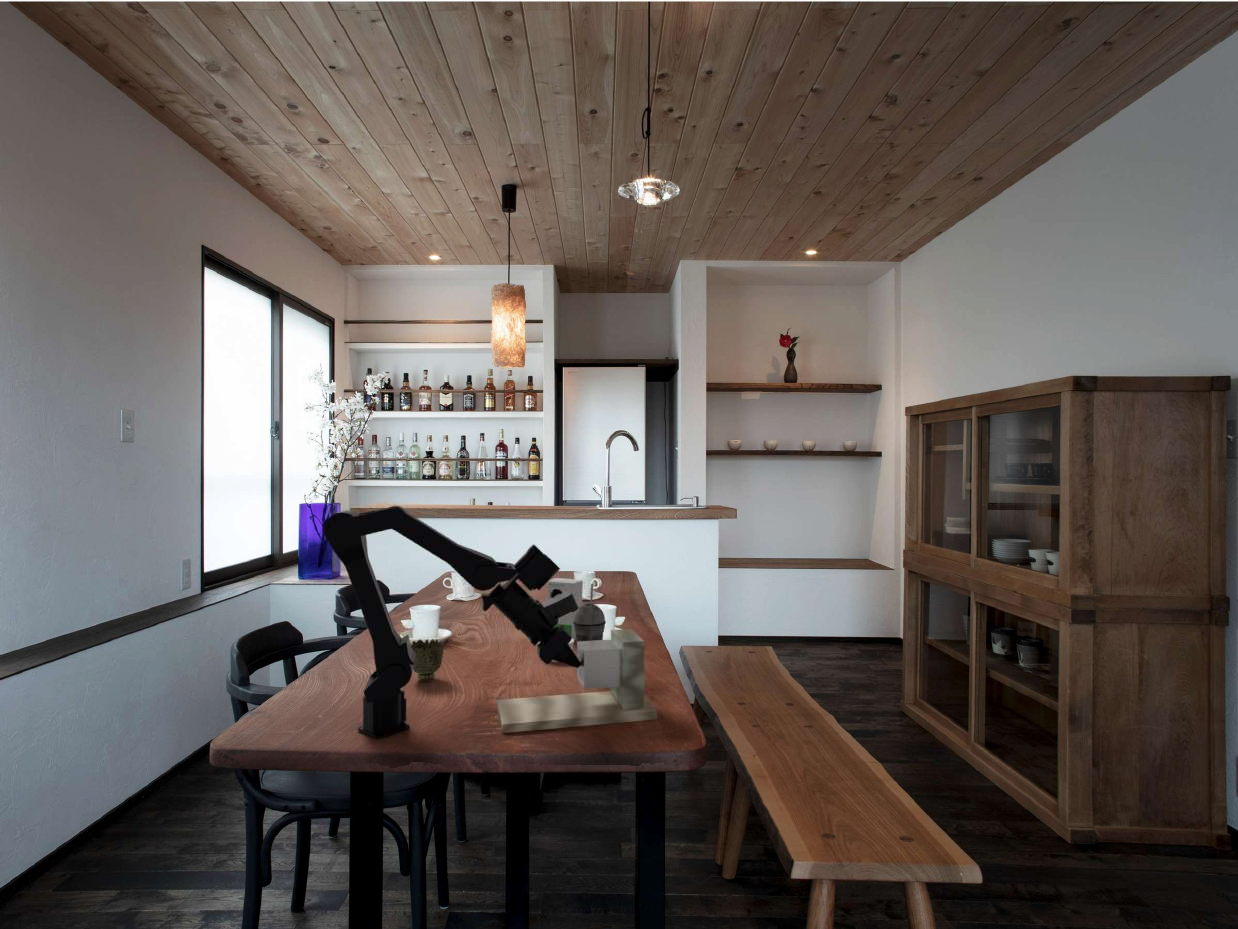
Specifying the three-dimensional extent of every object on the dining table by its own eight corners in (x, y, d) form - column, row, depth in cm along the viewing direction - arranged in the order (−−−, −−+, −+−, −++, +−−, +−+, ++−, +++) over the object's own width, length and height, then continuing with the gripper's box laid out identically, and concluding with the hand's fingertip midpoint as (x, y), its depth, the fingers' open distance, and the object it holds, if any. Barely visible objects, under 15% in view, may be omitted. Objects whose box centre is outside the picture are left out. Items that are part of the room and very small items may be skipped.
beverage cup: (566, 676, 152) (566, 585, 152) (583, 667, 158) (583, 580, 159) (595, 681, 149) (595, 588, 149) (611, 672, 155) (611, 583, 155)
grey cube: (584, 689, 126) (584, 651, 126) (577, 678, 133) (577, 641, 133) (621, 686, 128) (621, 648, 128) (612, 675, 134) (612, 639, 134)
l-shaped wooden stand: (502, 733, 119) (502, 652, 120) (497, 707, 132) (497, 634, 132) (657, 719, 126) (657, 642, 126) (638, 696, 139) (638, 626, 139)
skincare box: (545, 639, 185) (545, 581, 185) (554, 633, 191) (554, 577, 191) (574, 641, 182) (574, 582, 182) (583, 635, 189) (583, 578, 189)
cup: (434, 686, 145) (434, 648, 145) (401, 684, 147) (402, 646, 147) (449, 675, 152) (449, 639, 152) (419, 673, 154) (419, 637, 154)
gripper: (559, 585, 119) (621, 646, 122) (545, 569, 137) (599, 623, 140) (513, 633, 117) (576, 694, 120) (504, 611, 135) (560, 664, 138)
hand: (579, 665), depth 129 cm, fingers closed, pressing on grey cube
